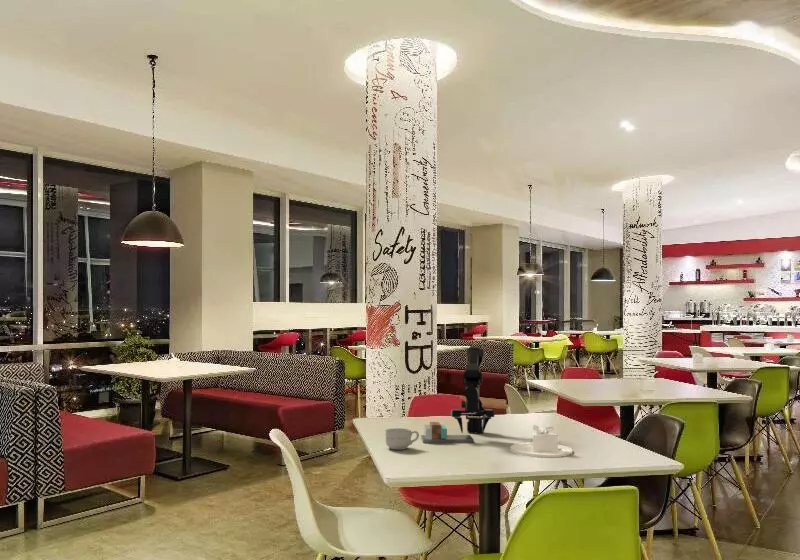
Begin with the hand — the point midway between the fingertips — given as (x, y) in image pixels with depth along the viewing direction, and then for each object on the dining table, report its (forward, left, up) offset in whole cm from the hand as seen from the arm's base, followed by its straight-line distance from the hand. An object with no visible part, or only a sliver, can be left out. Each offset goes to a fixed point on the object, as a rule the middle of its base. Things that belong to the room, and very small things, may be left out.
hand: (472, 432), depth 285 cm
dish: (-25, +22, -4) cm, 33 cm away
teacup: (+32, +17, -4) cm, 37 cm away
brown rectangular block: (+17, 0, -2) cm, 17 cm away
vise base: (+11, 0, -3) cm, 12 cm away
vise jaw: (+13, 0, -2) cm, 13 cm away
